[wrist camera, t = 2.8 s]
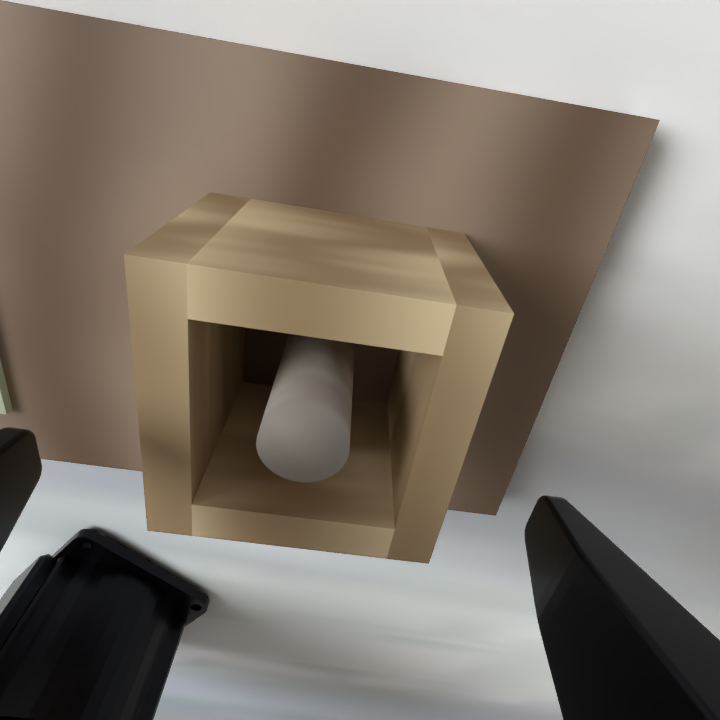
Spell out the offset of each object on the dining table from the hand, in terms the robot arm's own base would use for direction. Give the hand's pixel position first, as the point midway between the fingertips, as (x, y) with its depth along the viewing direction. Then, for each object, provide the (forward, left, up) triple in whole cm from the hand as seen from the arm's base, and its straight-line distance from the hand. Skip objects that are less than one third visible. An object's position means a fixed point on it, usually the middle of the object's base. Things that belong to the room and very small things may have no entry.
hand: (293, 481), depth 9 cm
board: (+6, +4, -7) cm, 10 cm away
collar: (0, 0, -6) cm, 6 cm away
